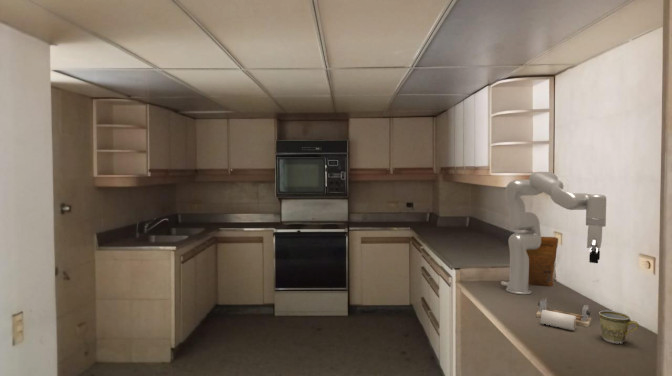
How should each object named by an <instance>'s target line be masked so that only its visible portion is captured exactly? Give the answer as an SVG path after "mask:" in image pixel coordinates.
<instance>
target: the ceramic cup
mask: <svg viewBox="0 0 672 376" xmlns="http://www.w3.org/2000/svg"><path fill="white" fill-rule="evenodd" d="M598 316H599V323H600V329H601V335H602V337H601V338H602V339H603V340H604V341H605V342H608V343H611V344H614V343H615V345H617V344H619V343H620V344H619V345H622V344H623V342H624V343H625V339H626V336H627V334H630V333H631V332H633V331H636V330H637V329H639V327H640V326H639V323H638V322H637V321H635V320H631V317H630V316H629V315H628V314H626V313H623V312H620V311H612V310H601V311H599V312H598ZM630 320H631V321H630ZM631 324H636V328H633V329H630V330H628V328H629V326H630V325H631Z"/></svg>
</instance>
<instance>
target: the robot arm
mask: <svg viewBox="0 0 672 376" xmlns="http://www.w3.org/2000/svg"><path fill="white" fill-rule="evenodd" d="M564 188H565V187H564V183H563V182H562V180H561V181H560V180H559V179H558V176H557V174H556V173H553V172H552V171H536V172H532V173H531V174H530V175H529V177H528V179H515V180H512V181H509V182H508V184H507V185H506V186H505V190H504V195H505V199H506V203H507V211H508V220H509V226H510V228H511V229H512V230H514V231H524V232H516V233H513V234H511V235H510V236H509V238H508V241H507V242H508V249H509V280H508V281H506V280H505V281H504V280H501V282H500V283H501V286H504V287H505V286H506V287H505V291H507V292H508V293H511V294H516V295H530V294H532V290H531V289H530V288H529V285H528V283H529V257H528V254H527V252H526V250H535V249H538V248H539V247H540V245H541V237H542V235H541V226H540V219H539V217H538V216H537V215H536V213H533V212H530V211H529V212H528V211H526V205H525V202H524V200H523V199H522V197H521V196H525V197H526V196H538V195H540V194H546V195H548V196H549V197H550V199H551V200H552V201H553V203H555V204H556V205H558V206H560V207H562V208H563V209H566V210H568V211H581V210H582V211H584V210H585V212H586V213H585V226H587V239H586V248H588V249H589V257H588V258H589V261H588V262H589V263H592V264H598V263H599V261H600V257H601V256H600V255H601V251H600V248H602V247H601V246H602V241H603V228H604V227H606V225H607V224H606V222H607V196H606V195H605V194H591V193H583V192H582V193H581V192H579V193H577V192H575V193H574V192H573V193H571V192H568V191H566V190H565V189H564Z"/></svg>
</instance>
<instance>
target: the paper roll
mask: <svg viewBox="0 0 672 376" xmlns="http://www.w3.org/2000/svg"><path fill="white" fill-rule="evenodd" d="M540 324H541V325H544V324H546V325H545V326H549V325H550V326H549V327H554V328H558V327H559V329H564V330H567V331H568V330H569V331H573V332H574V331H575V329H576V326H577V325H576V316H574V315H569V314H564V313H558V312H553V311H548V310H542V313H541V318H540Z"/></svg>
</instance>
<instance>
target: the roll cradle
mask: <svg viewBox="0 0 672 376" xmlns="http://www.w3.org/2000/svg"><path fill="white" fill-rule="evenodd" d="M547 301H548V300H547V297H542V298H541V299H540V301H538V306H539V309H538V311H537V312H536V313H535V314H536V315H535V317H536V316H537V317H536V318H540V317H541V313H542V310H548V311H553V312H558V313H564V314H569V315H574V316H576V325H575V326H579V327H580V326H581V327H584V328H585V327H586V328H589V326H590V324H591V322H592V318H591V317H589V316H591V310H589V305H588V304H584V305H583V307H582V311H581V312H582V313H581V314H577V313H572V312H567V311H561V310H556V309H551V308H547Z"/></svg>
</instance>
